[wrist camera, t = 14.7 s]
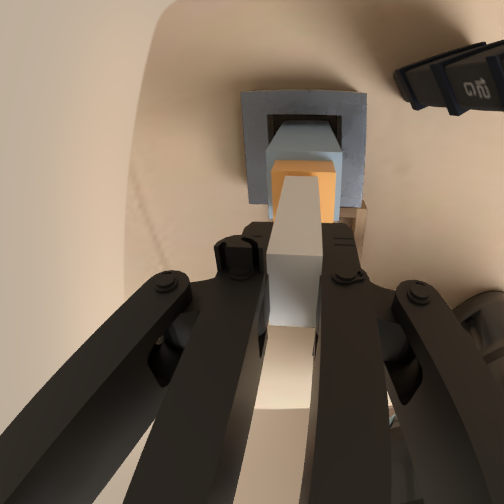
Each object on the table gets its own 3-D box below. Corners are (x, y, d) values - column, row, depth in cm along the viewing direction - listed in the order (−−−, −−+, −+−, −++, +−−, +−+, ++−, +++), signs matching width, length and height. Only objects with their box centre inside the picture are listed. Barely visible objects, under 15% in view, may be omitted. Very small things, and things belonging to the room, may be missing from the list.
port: (355, 191, 28) (361, 207, 25) (256, 188, 30) (249, 203, 27) (358, 91, 23) (366, 93, 19) (249, 90, 25) (240, 92, 21)
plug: (327, 160, 27) (341, 239, 15) (285, 160, 28) (264, 236, 15) (327, 120, 25) (347, 162, 13) (284, 119, 26) (259, 161, 13)
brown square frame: (355, 265, 33) (357, 276, 31) (286, 262, 34) (285, 273, 33) (363, 200, 28) (367, 208, 27) (286, 197, 30) (284, 205, 28)
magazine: (363, 82, 21) (511, 54, 7) (442, 49, 21) (554, 35, 7) (381, 120, 22) (532, 123, 8) (456, 79, 22) (569, 78, 8)
